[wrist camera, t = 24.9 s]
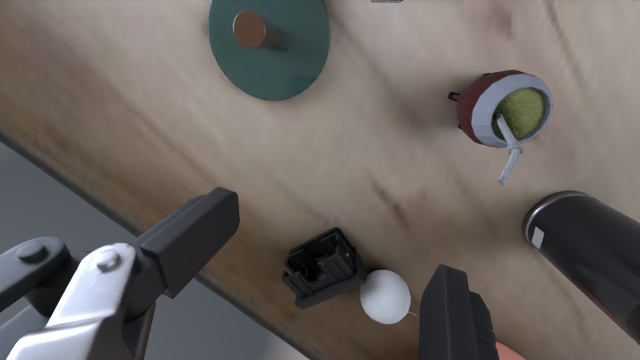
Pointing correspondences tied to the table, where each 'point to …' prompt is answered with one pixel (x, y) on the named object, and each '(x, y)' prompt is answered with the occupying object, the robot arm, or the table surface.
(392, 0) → the pot
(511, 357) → the teapot
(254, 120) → the table surface
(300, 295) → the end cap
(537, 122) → the mate gourd
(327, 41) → the lid
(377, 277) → the white sphere
